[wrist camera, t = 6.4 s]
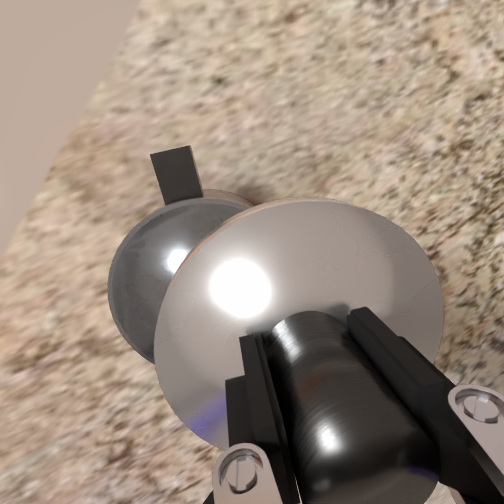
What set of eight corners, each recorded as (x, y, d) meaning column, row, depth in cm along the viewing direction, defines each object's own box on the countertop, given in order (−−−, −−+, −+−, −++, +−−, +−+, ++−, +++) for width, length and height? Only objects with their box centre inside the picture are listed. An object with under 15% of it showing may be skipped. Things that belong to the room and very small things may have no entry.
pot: (257, 134, 27) (275, 124, 19) (295, 326, 34) (322, 384, 25) (105, 169, 27) (53, 175, 18) (173, 357, 33) (158, 427, 25)
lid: (422, 168, 11) (654, 183, 5) (424, 403, 15) (567, 567, 9) (120, 232, 11) (6, 329, 5) (197, 462, 14) (188, 682, 8)
